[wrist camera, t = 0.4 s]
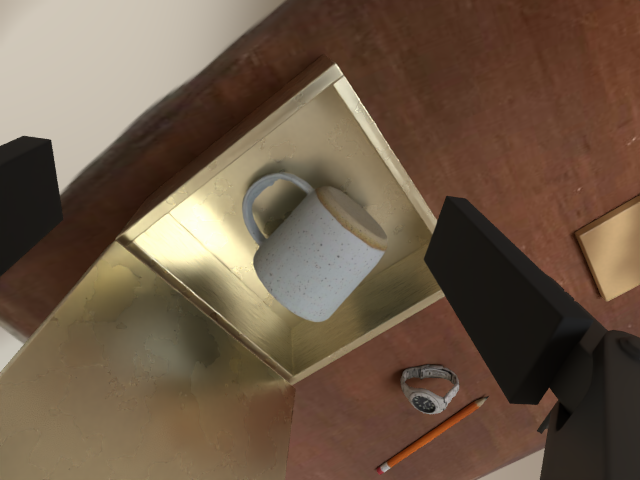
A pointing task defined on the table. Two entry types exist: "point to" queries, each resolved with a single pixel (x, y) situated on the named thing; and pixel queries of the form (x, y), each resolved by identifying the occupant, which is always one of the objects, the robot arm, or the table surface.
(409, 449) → the pencil
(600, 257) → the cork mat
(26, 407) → the box lid
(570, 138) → the table surface
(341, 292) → the ceramic mug
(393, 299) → the open metal box
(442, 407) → the wristwatch
